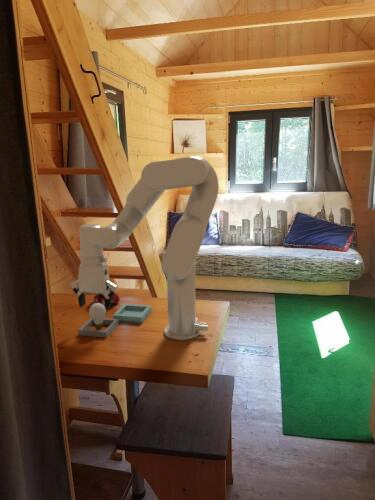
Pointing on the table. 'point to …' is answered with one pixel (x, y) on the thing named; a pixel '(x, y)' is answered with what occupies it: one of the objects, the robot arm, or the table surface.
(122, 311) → the tray
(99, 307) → the light bulb
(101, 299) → the toy fire truck
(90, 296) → the table surface
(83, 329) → the holder
